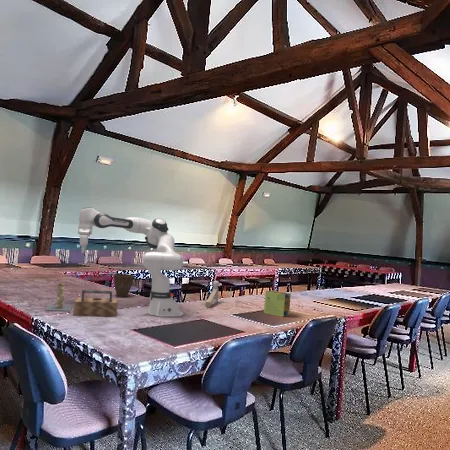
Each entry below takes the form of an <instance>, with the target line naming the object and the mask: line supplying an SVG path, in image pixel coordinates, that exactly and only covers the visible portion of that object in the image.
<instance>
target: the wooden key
mask: <svg viewBox="0 0 450 450" xmlns="http://www.w3.org/2000/svg"><path fill="white" fill-rule="evenodd" d="M65 287H66V283H65V282H58V283H57V292H56V304H55V305H56V308H63V306H64V300H65Z"/></svg>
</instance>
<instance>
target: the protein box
mask: <svg viewBox="0 0 450 450" xmlns="http://www.w3.org/2000/svg"><path fill="white" fill-rule="evenodd" d="M291 294H292V293H291V292H284V291H278V290H268V291H265V295H264V307H263V314H267V315H271V316H272V315H273V316H277V317H283V318H284V317H287V316H290V307H291V298H292V297H291V296H292V295H291Z"/></svg>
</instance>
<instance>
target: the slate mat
mask: <svg viewBox="0 0 450 450" xmlns="http://www.w3.org/2000/svg"><path fill="white" fill-rule="evenodd" d="M72 309H73V305H63V308H56V304H55V305H54V304H49V305H47V307H46V308H45V312H71V310H72Z"/></svg>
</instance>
